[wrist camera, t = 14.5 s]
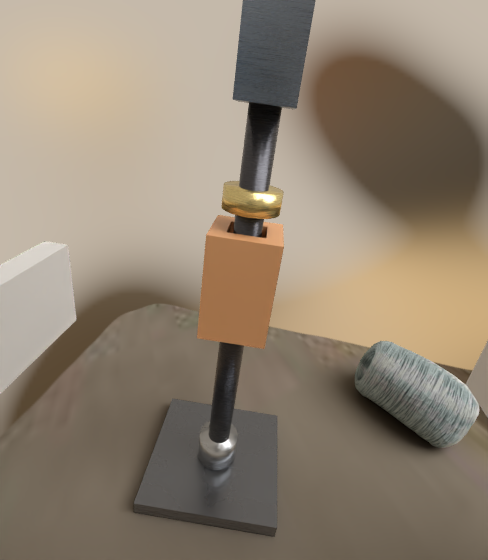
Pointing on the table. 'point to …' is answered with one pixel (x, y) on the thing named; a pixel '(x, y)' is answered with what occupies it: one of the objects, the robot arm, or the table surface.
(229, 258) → the sleeve
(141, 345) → the table surface
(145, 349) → the table surface
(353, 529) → the table surface
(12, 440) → the table surface
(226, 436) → the stand
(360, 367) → the spool
